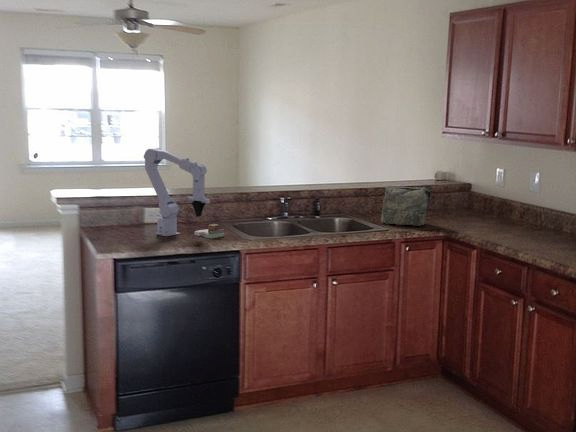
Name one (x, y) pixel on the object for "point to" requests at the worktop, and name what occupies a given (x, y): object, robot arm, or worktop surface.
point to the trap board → (212, 233)
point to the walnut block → (213, 227)
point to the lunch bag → (405, 205)
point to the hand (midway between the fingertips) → (198, 216)
